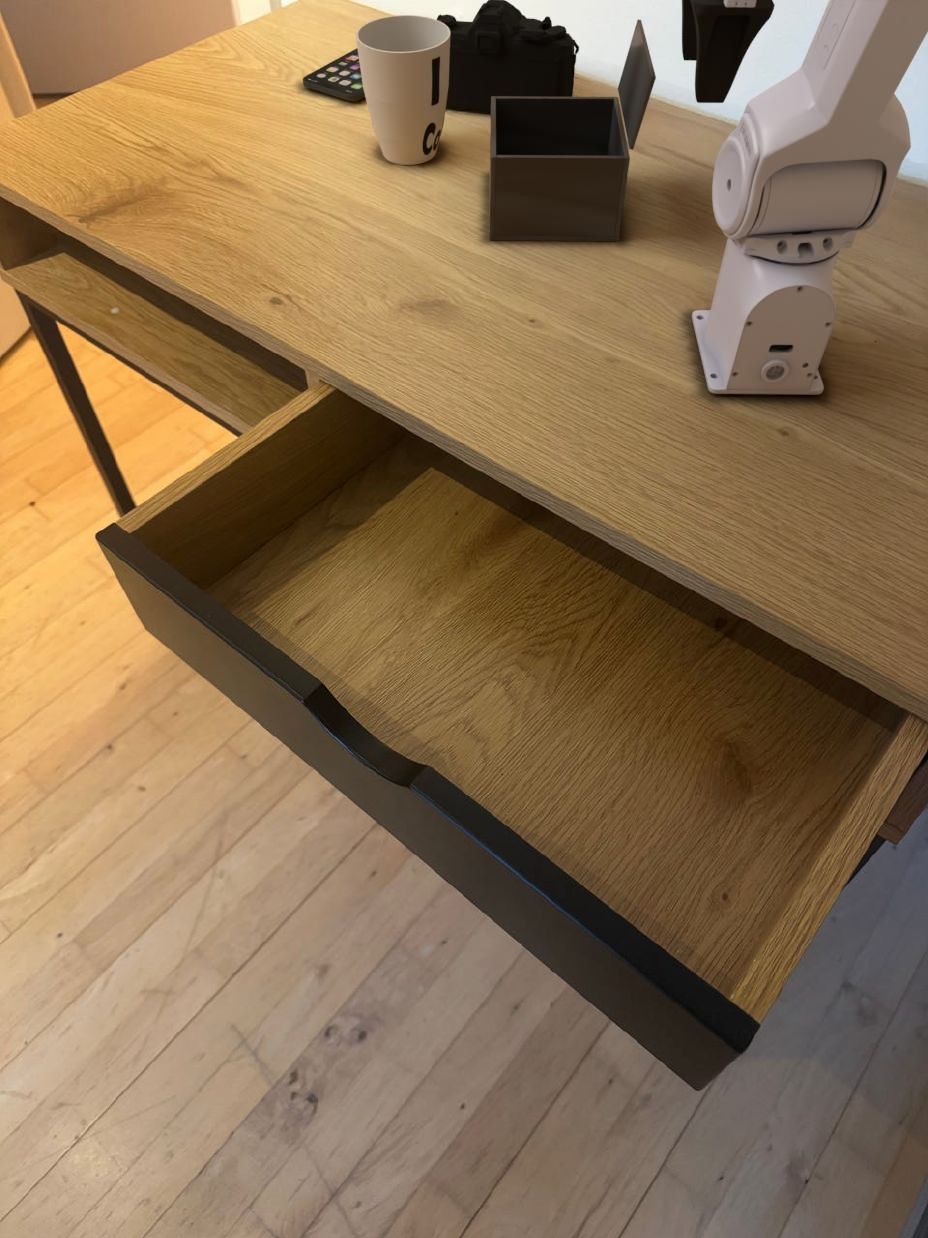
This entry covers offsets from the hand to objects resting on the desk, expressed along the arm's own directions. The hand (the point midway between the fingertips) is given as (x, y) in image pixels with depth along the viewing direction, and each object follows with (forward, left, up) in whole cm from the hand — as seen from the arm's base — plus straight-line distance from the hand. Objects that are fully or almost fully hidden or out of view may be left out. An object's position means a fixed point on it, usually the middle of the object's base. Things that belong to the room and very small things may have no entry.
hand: (702, 79), depth 71 cm
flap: (0, +5, 0) cm, 5 cm away
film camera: (+22, +15, -11) cm, 29 cm away
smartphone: (+28, +29, -10) cm, 42 cm away
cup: (+10, +24, -10) cm, 28 cm away
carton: (0, +11, -10) cm, 15 cm away
